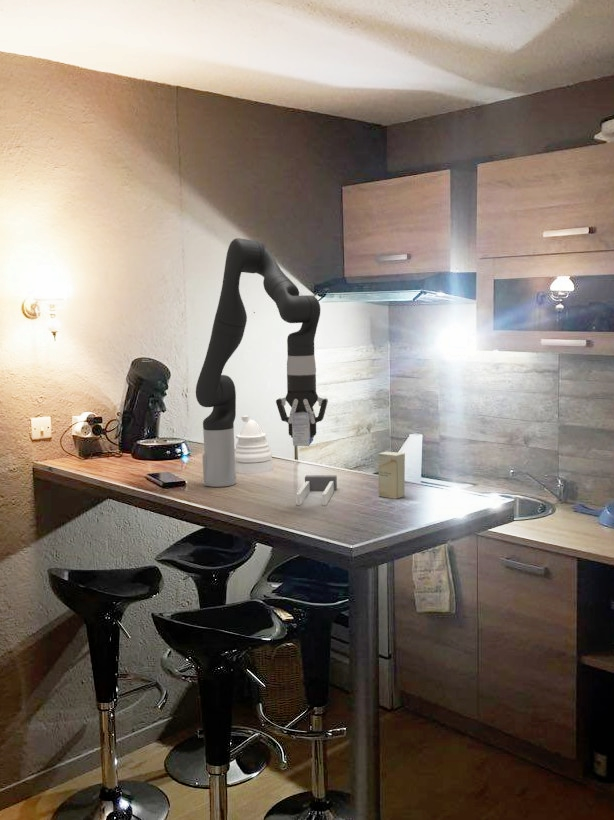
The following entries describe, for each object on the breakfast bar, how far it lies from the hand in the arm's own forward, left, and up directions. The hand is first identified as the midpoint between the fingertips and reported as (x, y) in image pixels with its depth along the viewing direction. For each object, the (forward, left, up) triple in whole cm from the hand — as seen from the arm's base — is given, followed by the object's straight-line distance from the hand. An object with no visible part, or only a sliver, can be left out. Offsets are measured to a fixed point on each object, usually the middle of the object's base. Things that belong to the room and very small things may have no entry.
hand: (302, 437), depth 222 cm
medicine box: (0, +1, -2) cm, 2 cm away
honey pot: (-26, +52, -19) cm, 61 cm away
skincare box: (+22, +13, -19) cm, 32 cm away
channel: (+1, +12, -19) cm, 23 cm away
